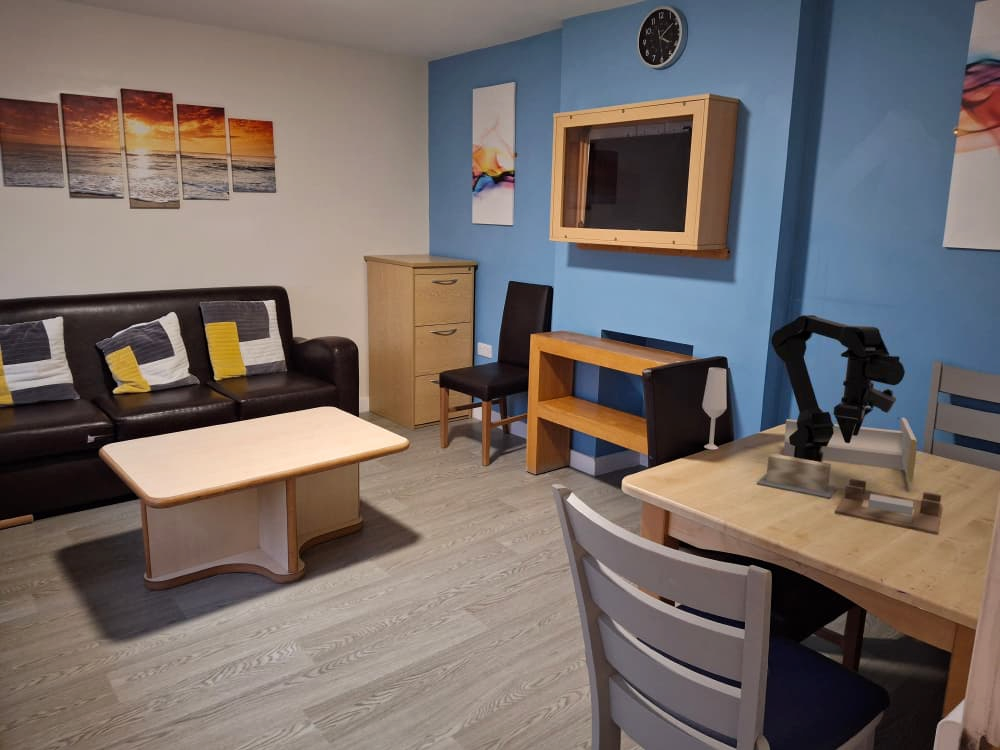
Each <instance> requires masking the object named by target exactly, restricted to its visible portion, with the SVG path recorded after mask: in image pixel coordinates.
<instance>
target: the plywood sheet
mask: <svg viewBox="0 0 1000 750" xmlns="http://www.w3.org/2000/svg"><path fill="white" fill-rule="evenodd" d="M767 458H768V459H767V468H766V474H767V476H766V481H769V482H774V483H780V484H785V485H790V486H795V487H800V488H805V489H810V490H815V491H820V492H825V493H826V491H827V490H828V486H829V485H830V484H829V483H830V482H829V481H830V475H831V466H832V465H831V464H832V463H828V462H817V461H812V460H806V459H800V458H795V457H794V456H789V455H782V454H777V453H770V454H769V455H768V456H767Z"/></svg>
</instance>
